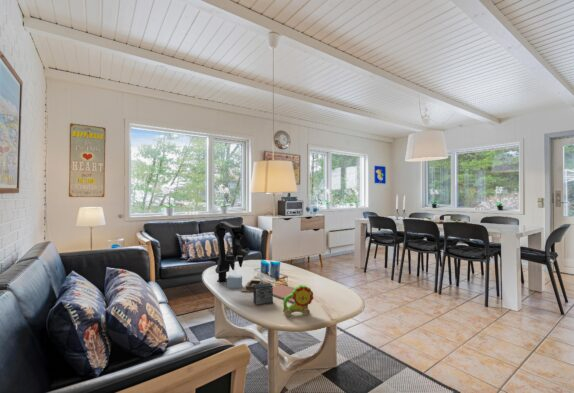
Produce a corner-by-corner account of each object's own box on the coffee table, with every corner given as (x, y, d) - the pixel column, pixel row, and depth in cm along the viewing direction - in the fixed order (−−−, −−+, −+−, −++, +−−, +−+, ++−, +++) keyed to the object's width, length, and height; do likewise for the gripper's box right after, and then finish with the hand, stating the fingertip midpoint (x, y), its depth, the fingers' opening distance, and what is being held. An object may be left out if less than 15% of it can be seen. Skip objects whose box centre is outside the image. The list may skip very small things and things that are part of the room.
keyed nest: (248, 283, 205) (248, 278, 205) (266, 283, 204) (266, 279, 204) (241, 292, 187) (241, 287, 187) (261, 292, 186) (261, 288, 186)
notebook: (313, 297, 179) (313, 293, 179) (294, 304, 167) (294, 301, 167) (282, 286, 198) (282, 284, 198) (263, 293, 186) (263, 290, 186)
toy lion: (284, 317, 149) (284, 288, 149) (282, 313, 155) (282, 285, 154) (314, 315, 152) (314, 286, 151) (311, 311, 157) (311, 283, 157)
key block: (229, 285, 201) (229, 275, 201) (242, 285, 200) (242, 275, 200) (227, 287, 196) (227, 277, 196) (240, 288, 195) (240, 277, 195)
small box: (270, 299, 174) (270, 282, 174) (273, 303, 168) (273, 285, 168) (253, 301, 171) (252, 284, 170) (255, 306, 165) (255, 287, 164)
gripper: (239, 247, 182) (240, 272, 182) (253, 243, 199) (254, 266, 199) (224, 247, 186) (225, 271, 186) (239, 243, 204) (240, 265, 203)
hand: (237, 268), depth 193 cm, fingers open, 9 cm apart
